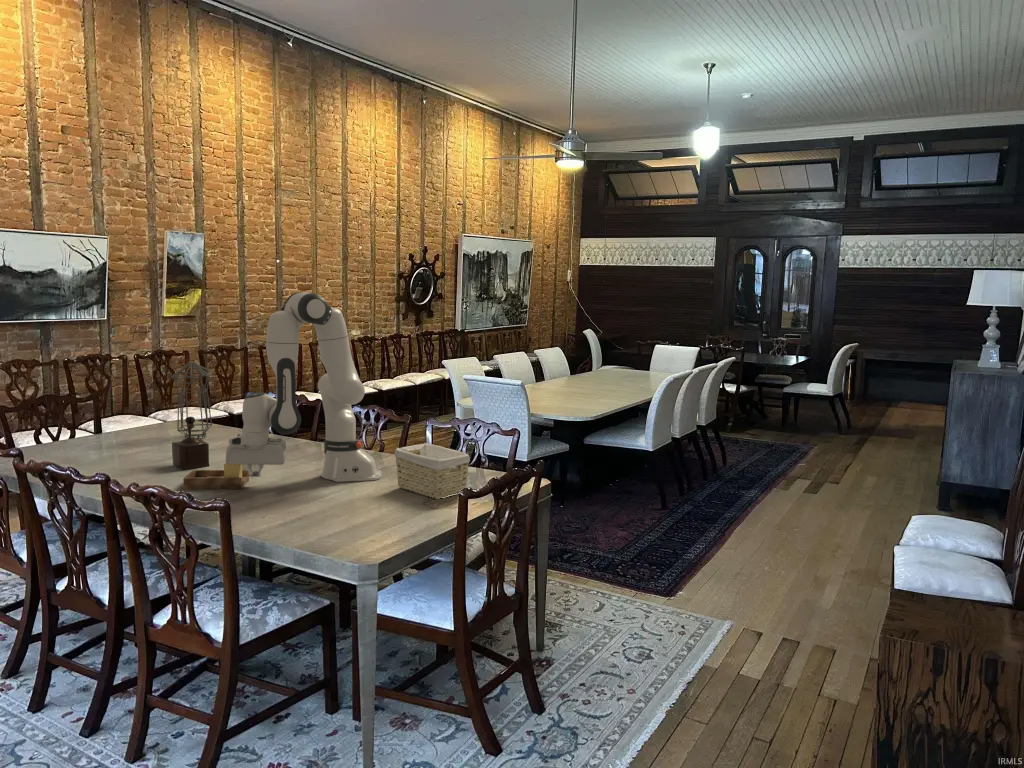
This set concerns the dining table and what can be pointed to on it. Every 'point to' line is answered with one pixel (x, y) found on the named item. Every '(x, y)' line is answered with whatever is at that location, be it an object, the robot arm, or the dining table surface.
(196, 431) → the geometric lantern
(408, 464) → the storage basket
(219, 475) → the wooden tray
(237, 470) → the block
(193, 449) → the dark brown knobbed box
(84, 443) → the dining table surface
